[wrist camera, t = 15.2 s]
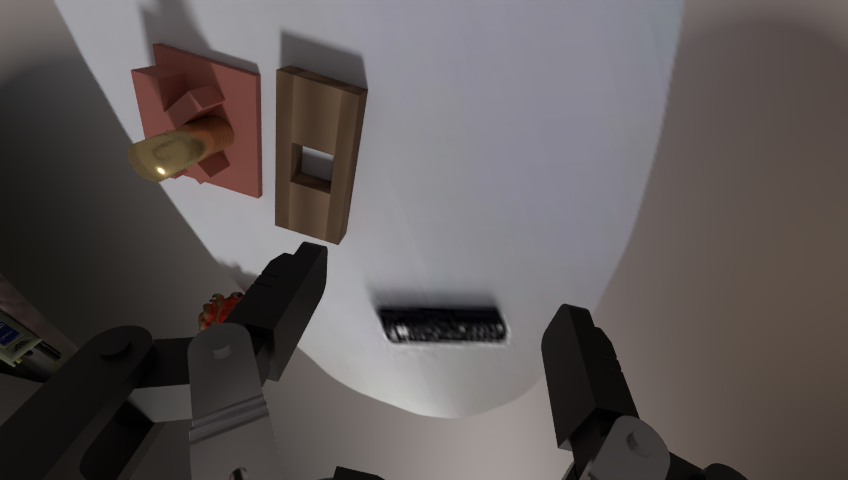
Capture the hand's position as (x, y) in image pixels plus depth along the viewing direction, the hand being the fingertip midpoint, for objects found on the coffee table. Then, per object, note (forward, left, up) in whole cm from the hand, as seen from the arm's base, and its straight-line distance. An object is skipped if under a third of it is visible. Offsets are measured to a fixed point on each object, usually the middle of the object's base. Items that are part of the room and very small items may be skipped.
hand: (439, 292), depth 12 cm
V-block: (-20, -25, -31) cm, 45 cm away
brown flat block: (-9, -19, -31) cm, 38 cm away
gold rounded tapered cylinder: (-20, -25, -30) cm, 44 cm away
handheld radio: (-41, -106, -32) cm, 118 cm away
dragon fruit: (-5, -52, -32) cm, 61 cm away
